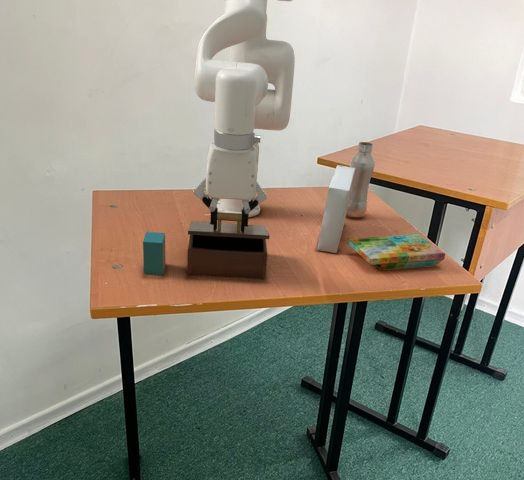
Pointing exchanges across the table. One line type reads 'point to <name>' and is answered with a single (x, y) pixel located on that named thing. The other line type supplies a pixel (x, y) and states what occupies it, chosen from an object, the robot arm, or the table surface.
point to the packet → (154, 253)
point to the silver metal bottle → (360, 179)
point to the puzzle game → (397, 251)
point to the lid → (228, 228)
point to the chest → (227, 257)
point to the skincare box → (336, 209)
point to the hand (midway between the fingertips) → (228, 227)
